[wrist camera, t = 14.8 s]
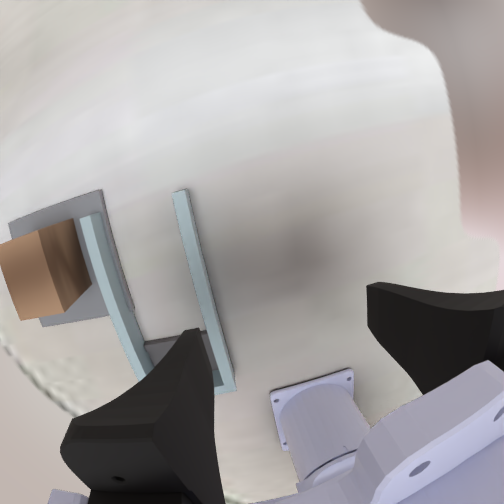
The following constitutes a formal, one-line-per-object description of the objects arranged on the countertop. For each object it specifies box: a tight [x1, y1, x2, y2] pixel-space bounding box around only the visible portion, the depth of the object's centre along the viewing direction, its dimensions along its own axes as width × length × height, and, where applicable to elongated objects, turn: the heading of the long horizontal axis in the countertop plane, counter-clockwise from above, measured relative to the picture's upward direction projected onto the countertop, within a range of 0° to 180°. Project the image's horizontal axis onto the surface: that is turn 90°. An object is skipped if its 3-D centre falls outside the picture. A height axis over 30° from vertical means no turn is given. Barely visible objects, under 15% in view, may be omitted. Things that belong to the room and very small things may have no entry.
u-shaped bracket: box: [80, 189, 237, 395], centre depth 20 cm, size 15×7×2 cm, turn 11°
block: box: [0, 218, 92, 321], centre depth 16 cm, size 5×4×5 cm
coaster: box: [8, 190, 135, 327], centre depth 19 cm, size 9×9×1 cm
